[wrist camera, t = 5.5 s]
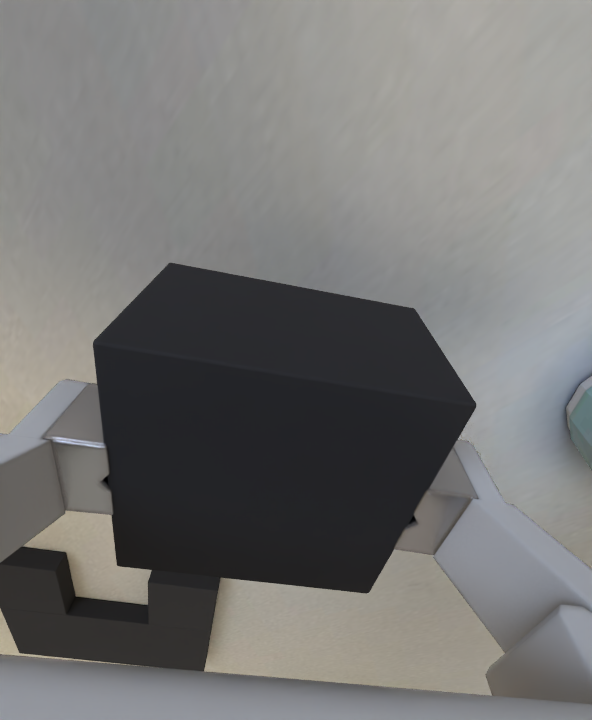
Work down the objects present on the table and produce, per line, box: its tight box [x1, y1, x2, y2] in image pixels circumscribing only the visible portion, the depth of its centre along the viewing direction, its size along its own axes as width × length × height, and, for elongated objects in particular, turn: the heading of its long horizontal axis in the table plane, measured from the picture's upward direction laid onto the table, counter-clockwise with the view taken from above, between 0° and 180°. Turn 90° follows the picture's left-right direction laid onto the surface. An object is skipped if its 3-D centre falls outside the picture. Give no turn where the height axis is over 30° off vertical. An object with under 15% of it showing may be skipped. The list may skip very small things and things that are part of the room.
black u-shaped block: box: [0, 547, 220, 671], centre depth 34 cm, size 18×16×2 cm
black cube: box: [93, 263, 476, 593], centre depth 8 cm, size 6×6×4 cm
